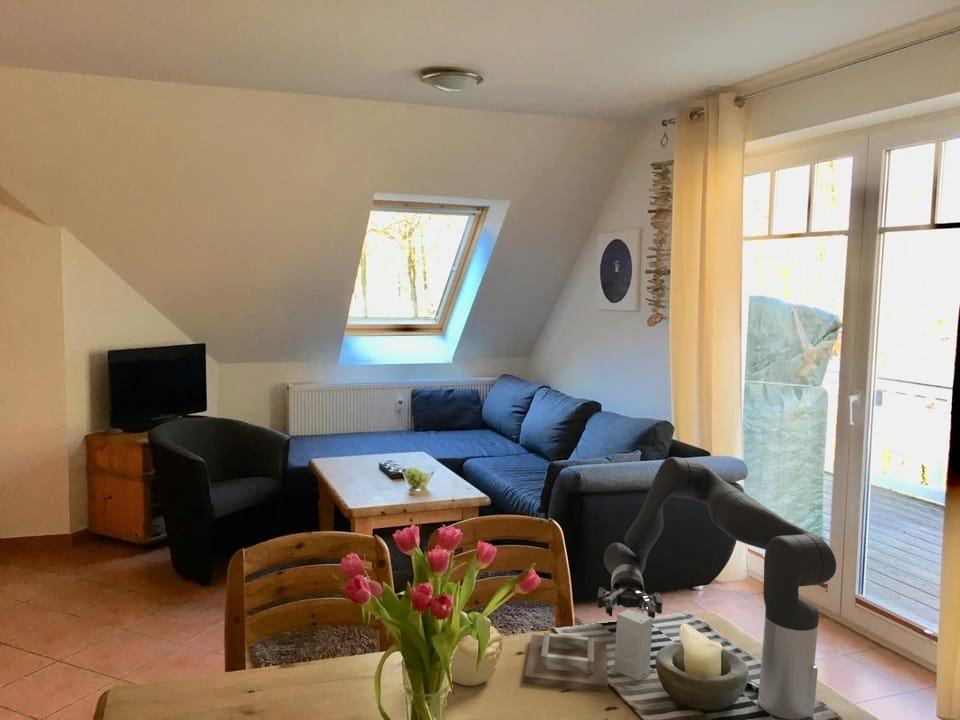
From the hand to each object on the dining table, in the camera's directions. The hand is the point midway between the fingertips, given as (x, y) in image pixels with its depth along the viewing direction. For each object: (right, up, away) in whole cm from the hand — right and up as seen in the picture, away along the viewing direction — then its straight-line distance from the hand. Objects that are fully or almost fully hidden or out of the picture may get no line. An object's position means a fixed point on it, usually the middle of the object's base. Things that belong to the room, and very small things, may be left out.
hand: (630, 614), depth 169 cm
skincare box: (-2, -8, -11) cm, 14 cm away
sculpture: (-35, -8, -16) cm, 39 cm away
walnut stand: (-15, -8, -9) cm, 19 cm away
